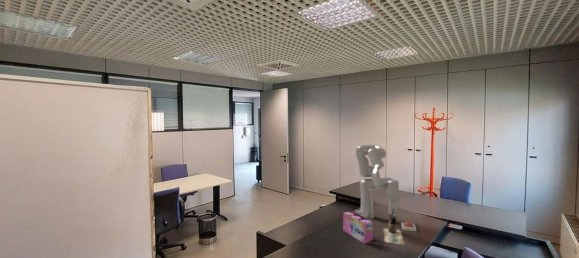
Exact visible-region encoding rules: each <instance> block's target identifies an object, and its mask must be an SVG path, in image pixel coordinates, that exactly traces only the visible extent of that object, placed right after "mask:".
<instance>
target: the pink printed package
mask: <svg viewBox="0 0 579 258" xmlns="http://www.w3.org/2000/svg"><path fill="white" fill-rule="evenodd" d="M342 212H343V211H342ZM342 215H343V220H342V221H343V223H342V228H343V229H342V230H343V232H345V233H346V234H348V235H350V236H351V237H353V238H355V239H356V240H358V241H359V242H361V243H363V244H364V243H365V244H369V243H371V242H372V241H373V240H374V221H373V220H372V219H368V218H365V217H363V216H361V215H359V213H356V212H355V211H352V210H349V211H346V212H343V214H342Z"/></svg>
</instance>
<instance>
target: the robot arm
mask: <svg viewBox="0 0 579 258" xmlns="http://www.w3.org/2000/svg"><path fill="white" fill-rule="evenodd" d="M355 156H356V158H357V162H358V168H359V169H358V171H359V175H360V177H362V178H363V179H361V180H360V182H359V188H360V189H359V190H360V209H359V210H357V209H355V211H354V212H355V213H357V214H359V215H361V216H363V217H365V218H367V219H369V220H372V219H374V218H375V215H374V214H373V211H374V210H373V204H374V203H373V200H374V197H373V193H372V192H371V191H376V190H381V189H387V190H386V192H387V197H386V198H387V199H386V200H388V214H389V219H390V220H391V224H396V225H397V215H398V213H397V212H398V201H399V200H400V199H399V198H400V196H399V195H400V194H399V193H400V192H399V189H400V188H399V187H400V184H399V183H400V182H399V180H395V179H393V178H391V177H382V178H381V177H380V171H379V170H382V169H383V168H384V166H385V163H384V161H383V159H385V158H386V156H387V153H386V150H385V149H384V148H383V147H381V146H378V145H376V144H362V145H361V144H360V145H358V146H356V149H355ZM367 157H368V158H367ZM369 161H370V162H369ZM370 164H371V165H370Z"/></svg>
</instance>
